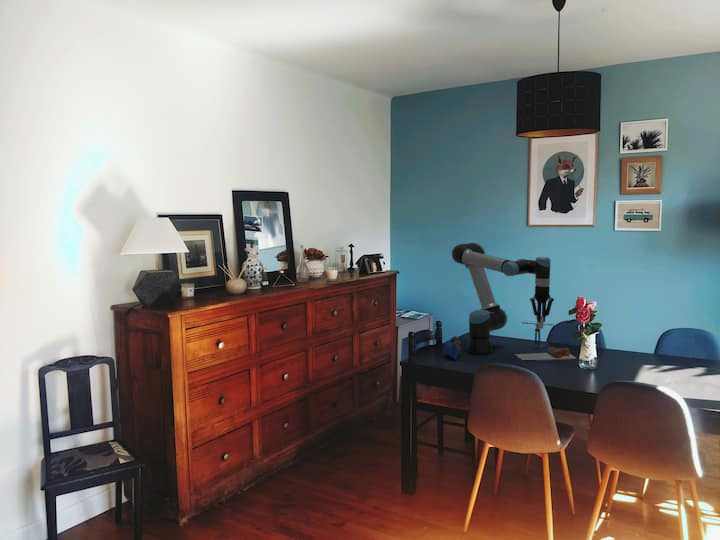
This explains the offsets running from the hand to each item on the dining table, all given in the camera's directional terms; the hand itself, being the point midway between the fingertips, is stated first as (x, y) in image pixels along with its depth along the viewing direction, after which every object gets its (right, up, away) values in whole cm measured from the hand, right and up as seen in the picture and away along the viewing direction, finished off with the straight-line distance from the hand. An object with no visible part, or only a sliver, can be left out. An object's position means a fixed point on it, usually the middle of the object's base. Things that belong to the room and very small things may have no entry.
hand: (540, 328), depth 309 cm
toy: (-47, -17, +6) cm, 51 cm away
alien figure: (+6, -14, +23) cm, 27 cm away
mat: (+3, -16, +1) cm, 16 cm away
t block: (+11, -15, +2) cm, 19 cm away
